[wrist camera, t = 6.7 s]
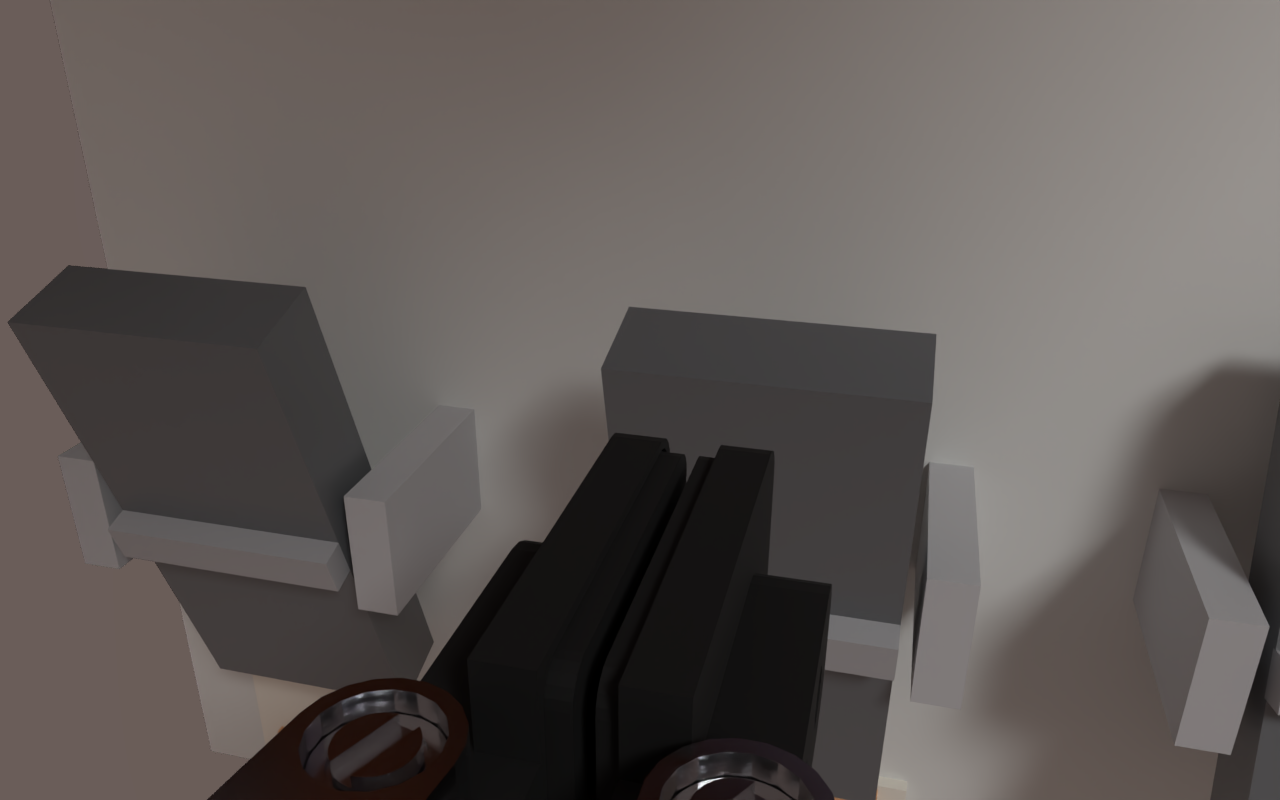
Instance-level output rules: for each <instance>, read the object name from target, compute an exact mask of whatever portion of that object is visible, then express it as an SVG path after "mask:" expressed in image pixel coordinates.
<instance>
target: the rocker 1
mask: <svg viewBox="0 0 1280 800" xmlns="http://www.w3.org/2000/svg"><path fill="white" fill-rule="evenodd" d="M8 324H9V326H10V327H11V329H12V330H13V332H14V334H15V335H16V337H17V339H18V340H19V341H20V343H21V345H22V346H23V348H24V350H25V352H26V353H27V355H28V356H29V358H30V359H31V361H32V363H33V365H34V366H35V368H36V369H37V371H38V373H39V374H40V376H41V377H42V379H43V381H44V382H45V384H46V386H47V387H48V389H49V391H50V392H51V394H52V395H53V397H54V399H55V400H56V402H57V404H58V405H59V407H60V408H61V410H62V412H63V413H64V415H65V417H66V418H67V420H68V422H69V423H70V425H71V426H72V428H73V430H74V431H75V433H76V434H77V436H78V438H79V439H80V441H81V443H82V444H83V446H84V448H85V449H86V451H87V452H88V454H89V456H90V457H91V459H92V461H93V462H94V464H95V465H96V467H97V469H98V470H99V472H100V474H101V475H102V477H103V478H104V480H105V482H106V483H107V485H108V487H109V488H110V490H111V492H112V493H113V495H114V496H115V498H116V500H117V501H118V503H119V505H120V506H121V508H122V509H123V511H122V512H121V513H120V514H119V516H118V517H117V518H116V519H115V521H114V522H113V523H112V524H111V526H110V527H109V528H108V531H109V533H110V535H111V536H112V538H113V539H114V541H115V542H116V544H117V545H118V547H119V549H120V550H121V552H122V553H123V555H124V556H125V557H130V558H136V559H142V560H149V561H155V563H156V564H157V566H158V568H159V569H160V571H161V573H162V574H163V576H164V578H165V579H166V581H167V583H168V584H169V586H170V588H171V589H172V591H173V592H174V594H175V595H176V597H177V599H178V601H179V602H180V604H181V605H182V607H183V609H184V610H185V612H186V614H187V615H188V617H189V618H190V620H191V622H192V623H193V625H194V627H195V628H196V630H197V631H198V633H199V635H200V636H201V638H202V640H203V641H204V643H205V644H206V646H207V648H208V649H209V651H210V653H211V654H212V656H213V657H214V659H215V661H216V662H217V664H218V666H219V667H220V668H221V669H226V670H231V671H236V672H242V673H247V674H252V675H258V676H263V677H268V678H274V679H279V680H284V681H290V682H295V683H300V684H306V685H311V686H316V687H322V688H327V689H332V690H338V689H340V688H342V687H345V686H347V685H351V684H355V683H359V682H364V681H368V680H372V679H383V678H407V679H412V680H417V678H418V676H419V674H420V672H421V669H422V667H423V665H424V663H425V661H426V658H427V656H428V654H429V652H430V650H431V647H432V645H433V643H434V641H433V638H432V635H431V633H430V630H429V627H428V624H427V622H426V619H425V616H424V613H423V610H422V608H421V605H420V602H419V599H418V597H417V594H416V593H415V594H414V596H413V597H412V598H411V599H410V601H409V602H408V603H407V604H406V606H405V607H404V608H403V610H402V611H401V612H400V613H399V615H398V616H397V615H391V614H385V613H379V612H373V611H367V610H361V609H358V603H357V595H356V588H355V580H354V572H353V565H352V557H351V550H350V542H349V534H348V527H347V519H346V511H345V504H344V496H345V495H346V494H347V493H348V492H349V491H350V490H351V489H352V488H353V487H354V486H355V485H356V484H357V483H358V482H359V481H360V480H361V479H362V478H363V477H364V476H365V475H366V474H368V473H369V472H370V471H371V470H372V469H371V467H370V464H369V461H368V458H367V456H366V453H365V450H364V447H363V445H362V442H361V439H360V436H359V433H358V431H357V428H356V425H355V422H354V420H353V417H352V414H351V411H350V409H349V406H348V403H347V400H346V397H345V395H344V392H343V389H342V386H341V384H340V381H339V378H338V375H337V373H336V370H335V367H334V364H333V362H332V359H331V356H330V353H329V350H328V348H327V345H326V342H325V339H324V337H323V334H322V331H321V328H320V326H319V323H318V320H317V317H316V314H315V312H314V309H313V306H312V303H311V301H310V298H309V295H308V292H307V290H306V287H301V286H290V285H279V284H268V283H257V282H246V281H235V280H224V279H213V278H202V277H191V276H180V275H169V274H158V273H147V272H136V271H125V270H114V269H102V268H92V267H80V266H70V265H69V266H67V267H66V268H65V269H64V270H63V271H62V272H61V273H60V274H59V275H58V276H57V277H56V278H55V279H53V281H51V282H50V283H49V284H48V285H47V286H46V287H45V288H44V289H43V290H42V291H40V293H38V294H37V295H36V296H35V297H34V298H33V299H32V300H31V301H30V302H29V303H28V304H26V305H25V306H24V307H23V308H22V309H21V310H20V311H19V312H18V313H17V314H16V315H15V316H14V317H12V318H11V319H10V320H9V321H8Z"/></svg>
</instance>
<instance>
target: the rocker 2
mask: <svg viewBox="0 0 1280 800" xmlns="http://www.w3.org/2000/svg"><path fill="white" fill-rule="evenodd" d="M936 335H937V334H931V333H920V332H909V331H897V330H886V329H875V328H864V327H852V326H841V325H830V324H819V323H807V322H796V321H785V320H774V319H762V318H751V317H740V316H729V315H717V314H706V313H695V312H684V311H672V310H661V309H650V308H639V307H629V308H628V310H627V312H626V314H625V317H624V319H623V321H622V323H621V325H620V328H619V330H618V332H617V334H616V336H615V339H614V341H613V343H612V345H611V347H610V350H609V352H608V354H607V356H606V358H605V361H604V363H603V365H602V367H601V375H602V384H603V393H604V402H605V412H606V421H607V430H608V439H609V440H610V438H611V437H612V435H613V434H614V433H624V434H632V435H641V436H650V437H658V438H666V439H667V440H668V442H669V448H670V453H679V454H685V456H686V462H687V476H686V483H687V481H688V478H689V476H690V474H691V472H692V470H693V467H694V465H695V463H696V461H697V459H698V457H699V456H704V457H712V458H715V456H716V454H717V452H718V449H719V447H720V446H721V445H727V446H736V447H744V448H753V449H762V450H770V451H774V458H775V465H774V483H773V499H772V515H771V531H770V546H769V562H768V575H773V576H780V577H787V578H794V579H801V580H808V581H815V582H822V583H829V584H832V596H831V608H830V619H829V630H828V641H827V651H826V661H825V671H824V680H823V689H822V697H821V705H820V713H819V721H818V728H817V735H816V742H815V749H814V756H813V762H812V768H813V769H814V770H816V771H817V772H818V774H819V775H820V776H821V778H822V779H823V780H824V782H825V783H826V784H827V786H828V787H829V789H830V790H831V791H832V793H833V796H834V797H835V798H840V799H846V800H876V793H877V786H878V779H879V772H880V765H881V758H882V751H883V744H884V737H885V730H886V723H887V716H888V709H889V702H890V695H891V688H892V681H894V679H895V672H896V665H897V658H898V651H899V639H900V626H901V619H902V612H903V605H904V598H905V591H906V584H907V577H908V570H909V563H910V556H911V549H912V542H913V535H914V528H915V521H916V514H917V507H918V500H919V493H920V486H921V479H922V472H923V466H924V459H925V452H926V445H927V438H928V431H929V424H930V417H931V410H932V403H933V386H934V369H935V352H936Z"/></svg>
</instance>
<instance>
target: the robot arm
mask: <svg viewBox="0 0 1280 800" xmlns="http://www.w3.org/2000/svg"><path fill="white" fill-rule="evenodd" d="M774 465H775V458H774V451H770V450H762V449H753V448H744V447H736V446H727V445H721V446H720V447H719V449H718V452H717V454H716V456H715V458H712V457H704V456H699V457H698V459H697V461H696V463H695V465H694V467H693V470H692V472H691V474H690V476H689V478H688V481H687V483H686V476H687V462H686V456H685V454H679V453H670V448H669V442H668V440H667V439H666V438H658V437H650V436H641V435H632V434H624V433H614V434H613V435H612V437H611V438H610V440H609V441H608V443H607V444H606V446H605V447H604V449H603V451H602V452H601V454H600V455H599V457H598V458H597V460H596V461H595V463H594V464H593V466H592V467H591V469H590V471H589V472H588V474H587V475H586V477H585V478H584V480H583V481H582V483H581V484H580V486H579V488H578V489H577V491H576V492H575V494H574V495H573V497H572V498H571V500H570V501H569V503H568V504H567V506H566V508H565V509H564V511H563V512H562V514H561V515H560V517H559V518H558V520H557V521H556V523H555V524H554V526H553V528H552V529H551V531H550V532H549V534H548V535H547V537H546V538H545V540H544V541H543V543H542V542H535V541H528V540H524V541H519V542H518V543H517V544H516V545H515V546H514V547H513V548H512V549H511V551H510V552H509V554H508V555H507V557H506V558H505V560H504V561H503V562H502V564H501V565H500V567H499V568H498V570H497V571H496V573H495V574H494V575H493V577H492V578H491V580H490V581H489V583H488V584H487V586H486V587H485V588H484V590H483V591H482V593H481V594H480V596H479V597H478V599H477V600H476V601H475V603H474V604H473V606H472V607H471V609H470V610H469V612H468V613H467V614H466V616H465V617H464V619H463V620H462V622H461V623H460V625H459V626H458V627H457V629H456V630H455V632H454V633H453V635H452V636H451V638H450V639H449V640H448V642H447V643H446V645H445V646H444V648H443V649H442V650H441V652H440V653H439V655H438V656H437V658H436V659H435V661H434V662H433V663H432V665H431V666H430V668H429V669H428V671H427V672H426V674H425V675H424V676H423V678H422V679H421V681H418V680H412V679H407V678H383V679H372V680H368V681H364V682H359V683H355V684H351V685H347V686H345V687H342V688H340V689H338V690H336V691H333V692H331V693H329V694H327V695H325V696H322V697H321V698H319V699H318V700H317V701H315V702H314V703H312V704H311V705H310V706H308V707H307V708H306V709H304V710H303V711H302V712H300V713H299V714H298V715H297V716H296V717H295V718H294V719H293V720H292V721H290V722H289V723H288V724H287V725H286V726H285V727H284V728H283V729H282V730H281V731H280V732H279V733H278V734H277V735H276V736H274V737H273V738H272V739H271V740H270V741H269V742H268V743H267V744H266V745H265V746H264V747H263V748H262V749H261V750H260V751H258V752H257V753H256V754H255V755H254V756H253V757H252V758H251V759H250V760H249V761H248V762H247V763H246V764H245V765H244V766H242V767H241V768H240V769H239V770H238V771H237V772H236V773H235V774H234V775H233V776H232V777H231V778H230V779H229V780H227V781H226V782H225V783H224V784H223V785H222V786H221V787H220V788H219V789H218V790H217V791H216V792H215V793H214V794H213V795H211V796H210V797H209V798H208V799H207V800H835V799H834V796H833V793H832V791H831V790H830V789H829V787H828V786H827V784H826V783H825V782H824V780H823V779H822V778H821V776H820V775H819V774H818V772H817V771H816V770H814V769H813V768H812V762H813V756H814V749H815V742H816V735H817V728H818V721H819V713H820V705H821V697H822V689H823V680H824V671H825V661H826V651H827V641H828V630H829V619H830V608H831V596H832V584H829V583H822V582H815V581H808V580H801V579H794V578H787V577H780V576H773V575H768V562H769V546H770V531H771V515H772V499H773V483H774Z"/></svg>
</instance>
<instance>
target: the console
mask: <svg viewBox="0 0 1280 800" xmlns="http://www.w3.org/2000/svg"><path fill="white" fill-rule="evenodd" d="M50 4H51V9H52V13H53V18H54V23H55V27H56V31H57V36H58V41H59V46H60V50H61V55H62V59H63V64H64V69H65V74H66V78H67V83H68V87H69V92H70V97H71V102H72V106H73V111H74V115H75V120H76V125H77V129H78V134H79V139H80V143H81V148H82V153H83V157H84V162H85V166H86V171H87V176H88V180H89V185H90V190H91V194H92V199H93V204H94V208H95V213H96V218H97V222H98V227H99V231H100V236H101V241H102V245H103V250H104V255H105V259H106V264H107V269H114V270H125V271H136V272H147V273H158V274H169V275H180V276H191V277H202V278H213V279H224V280H235V281H246V282H257V283H268V284H279V285H290V286H301V287H306V290H307V292H308V295H309V298H310V301H311V303H312V306H313V309H314V312H315V314H316V317H317V320H318V323H319V326H320V328H321V331H322V334H323V337H324V339H325V342H326V345H327V348H328V350H329V353H330V356H331V359H332V362H333V364H334V367H335V370H336V373H337V375H338V378H339V381H340V384H341V386H342V389H343V392H344V395H345V397H346V400H347V403H348V406H349V409H350V411H351V414H352V417H353V420H354V422H355V425H356V428H357V431H358V433H359V436H360V439H361V442H362V445H363V447H364V450H365V453H366V456H367V458H368V461H369V464H370V467H371V469H372V470H371V471H370V472H369V473H368V474H366V475H365V476H364V477H363V478H362V479H361V480H360V481H359V482H358V483H357V484H356V485H355V486H354V487H353V488H352V489H351V490H350V491H349V492H348V493H347V494H346V495H345V496H344V504H345V511H346V519H347V527H348V534H349V542H350V550H351V557H352V565H353V572H354V580H355V588H356V595H357V603H358V609H361V610H367V611H373V612H379V613H385V614H391V615H397V616H398V615H399V613H400V612H401V611H402V610H403V608H404V607H405V606H406V604H407V603H408V602H409V601H410V599H411V598H412V597H413V596H414V594H415V593H416V594H417V597H418V599H419V602H420V605H421V608H422V610H423V613H424V616H425V619H426V622H427V624H428V627H429V630H430V633H431V635H432V638H433V641H434V643H433V645H432V647H431V650H430V652H429V654H428V656H427V658H426V661H425V663H424V665H423V667H422V669H421V672H420V674H419V676H418V678H417V680H418V681H421V679H422V678H423V676H424V675H425V674H426V672H427V671H428V669H429V668H430V666H431V665H432V663H433V662H434V661H435V659H436V658H437V656H438V655H439V653H440V652H441V650H442V649H443V648H444V646H445V645H446V643H447V642H448V640H449V639H450V638H451V636H452V635H453V633H454V632H455V630H456V629H457V627H458V626H459V625H460V623H461V622H462V620H463V619H464V617H465V616H466V614H467V613H468V612H469V610H470V609H471V607H472V606H473V604H474V603H475V601H476V600H477V599H478V597H479V596H480V594H481V593H482V591H483V590H484V588H485V587H486V586H487V584H488V583H489V581H490V580H491V578H492V577H493V575H494V574H495V573H496V571H497V570H498V568H499V567H500V565H501V564H502V562H503V561H504V560H505V558H506V557H507V555H508V554H509V552H510V551H511V549H512V548H513V547H514V546H515V545H516V544H517V543H518V542H519V541H524V540H528V541H535V542H542V543H543V541H544V540H545V538H546V537H547V535H548V534H549V532H550V531H551V529H552V528H553V526H554V524H555V523H556V521H557V520H558V518H559V517H560V515H561V514H562V512H563V511H564V509H565V508H566V506H567V504H568V503H569V501H570V500H571V498H572V497H573V495H574V494H575V492H576V491H577V489H578V488H579V486H580V484H581V483H582V481H583V480H584V478H585V477H586V475H587V474H588V472H589V471H590V469H591V467H592V466H593V464H594V463H595V461H596V460H597V458H598V457H599V455H600V454H601V452H602V451H603V449H604V447H605V446H606V444H607V443H608V441H609V439H608V430H607V421H606V412H605V402H604V393H603V384H602V375H601V367H602V365H603V363H604V361H605V358H606V356H607V354H608V352H609V350H610V347H611V345H612V343H613V341H614V339H615V336H616V334H617V332H618V330H619V328H620V325H621V323H622V321H623V319H624V317H625V314H626V312H627V310H628V308H629V307H639V308H650V309H661V310H672V311H684V312H695V313H706V314H717V315H729V316H740V317H751V318H762V319H774V320H785V321H796V322H807V323H819V324H830V325H841V326H852V327H864V328H875V329H886V330H897V331H909V332H920V333H931V334H937V335H936V352H935V369H934V386H933V403H932V410H931V417H930V424H929V431H928V438H927V445H926V452H925V459H924V466H923V472H922V479H921V486H920V493H919V500H918V507H917V514H916V521H915V528H914V535H913V542H912V549H911V556H910V563H909V570H908V577H907V584H906V591H905V598H904V605H903V612H902V619H901V626H900V639H899V651H898V658H897V665H896V672H895V679H894V681H892V688H891V695H890V702H889V709H888V716H887V723H886V730H885V737H884V744H883V751H882V758H881V765H880V772H879V779H878V786H877V793H876V800H1210V798H1211V792H1212V787H1213V781H1214V775H1215V769H1216V764H1217V758H1218V753H1221V754H1227V755H1231V752H1232V749H1233V746H1234V743H1235V739H1236V736H1237V733H1238V729H1239V726H1240V723H1241V720H1242V716H1243V713H1244V710H1245V706H1246V703H1247V700H1248V697H1249V693H1250V690H1251V687H1252V683H1253V680H1254V677H1255V673H1256V670H1257V667H1258V664H1259V660H1260V657H1261V654H1262V650H1263V647H1264V644H1265V641H1266V637H1267V634H1268V631H1269V627H1270V626H1269V624H1268V622H1267V620H1266V618H1265V616H1264V614H1263V611H1262V609H1261V607H1260V605H1259V603H1258V601H1257V599H1256V596H1255V594H1254V592H1253V590H1252V588H1251V586H1250V584H1249V582H1248V580H1249V574H1250V569H1251V563H1252V557H1253V551H1254V546H1255V540H1256V534H1257V528H1258V523H1259V517H1260V511H1261V506H1262V500H1263V494H1264V488H1265V483H1266V477H1267V471H1268V465H1269V460H1270V454H1271V448H1272V442H1273V437H1274V431H1275V425H1276V419H1277V414H1278V408H1279V402H1280V0H50ZM58 459H59V463H60V467H61V471H62V475H63V479H64V482H65V487H66V490H67V494H68V498H69V502H70V506H71V510H72V514H73V518H74V521H75V526H76V530H77V534H78V537H79V541H80V545H81V549H82V553H83V557H84V561H85V563H86V564H92V565H98V566H104V567H110V568H116V569H120V568H121V567H123V566H124V565H125V564H126V563H128V562H129V561H130V560H132V559H133V558H130V557H125V556H124V555H123V553H122V552H121V550H120V549H119V547H118V545H117V544H116V542H115V541H114V539H113V538H112V536H111V535H110V533H109V531H108V528H109V527H110V526H111V524H112V523H113V522H114V521H115V519H116V518H117V517H118V516H119V514H120V513H121V512H122V511H123V509H122V508H121V506H120V505H119V503H118V501H117V500H116V498H115V496H114V495H113V493H112V492H111V490H110V488H109V487H108V485H107V483H106V482H105V480H104V478H103V477H102V475H101V474H100V472H99V470H98V469H97V467H96V465H95V464H94V462H93V461H92V459H91V457H90V456H89V454H88V452H87V451H86V449H85V448H84V446H83V444H82V443H79V444H77V445H76V446H74V447H72V448H71V449H69V450H67V451H66V452H64V453H62V454H61V455H59V456H58ZM179 603H180V602H179ZM180 608H181V613H182V617H183V622H184V627H185V631H186V636H187V640H188V645H189V650H190V654H191V659H192V663H193V669H194V673H195V678H196V682H197V686H198V692H199V696H200V701H201V706H202V710H203V715H204V720H205V724H206V729H207V734H208V738H209V743H210V748H211V751H213V752H219V753H223V754H228V755H233V756H238V757H242V758H247V759H251V758H252V757H253V756H254V755H255V754H256V753H257V752H258V751H260V750H261V749H262V748H263V747H264V746H265V745H266V744H267V743H268V742H269V741H270V740H271V739H272V738H273V737H274V736H276V735H277V734H278V733H279V732H280V731H281V730H282V729H283V728H284V727H285V726H286V725H287V724H288V723H289V722H290V721H292V720H293V719H294V718H295V717H296V716H297V715H298V714H299V713H300V712H302V711H303V710H304V709H306V708H307V707H308V706H310V705H311V704H312V703H314V702H315V701H317V700H318V699H319V698H321V697H322V696H325V695H327V694H329V693H331V692H333V691H336V690H332V689H327V688H322V687H316V686H311V685H306V684H300V683H295V682H290V681H284V680H279V679H274V678H268V677H263V676H258V675H252V674H247V673H242V672H236V671H231V670H226V669H221V668H220V667H219V666H218V664H217V662H216V661H215V659H214V657H213V656H212V654H211V653H210V651H209V649H208V648H207V646H206V644H205V643H204V641H203V640H202V638H201V636H200V635H199V633H198V631H197V630H196V628H195V627H194V625H193V623H192V622H191V620H190V618H189V617H188V615H187V614H186V612H185V610H184V609H183V607H182V605H181V604H180ZM834 799H835V800H846V799H840V798H835V797H834Z"/></svg>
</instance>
